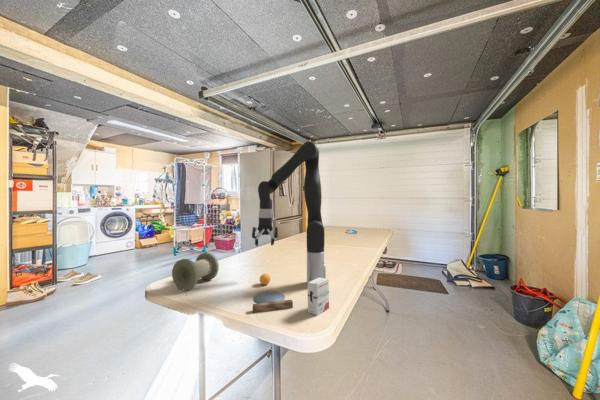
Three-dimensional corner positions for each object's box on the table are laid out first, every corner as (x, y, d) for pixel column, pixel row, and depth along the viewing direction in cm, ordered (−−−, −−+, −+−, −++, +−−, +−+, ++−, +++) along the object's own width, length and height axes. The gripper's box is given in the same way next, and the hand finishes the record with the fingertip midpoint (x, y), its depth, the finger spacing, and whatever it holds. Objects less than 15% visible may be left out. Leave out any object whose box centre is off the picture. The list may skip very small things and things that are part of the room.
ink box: (319, 304, 94) (319, 276, 94) (329, 308, 90) (329, 279, 91) (307, 312, 87) (307, 281, 87) (317, 316, 84) (317, 284, 84)
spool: (195, 292, 106) (195, 261, 107) (171, 288, 111) (172, 258, 112) (218, 280, 122) (218, 253, 122) (196, 277, 127) (197, 251, 127)
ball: (269, 282, 120) (269, 271, 120) (271, 285, 114) (271, 274, 114) (259, 283, 118) (259, 272, 118) (260, 286, 113) (260, 275, 113)
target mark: (281, 290, 109) (281, 289, 109) (287, 302, 95) (287, 302, 95) (252, 293, 105) (252, 292, 105) (254, 306, 91) (254, 306, 91)
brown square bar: (291, 305, 92) (291, 299, 93) (292, 307, 91) (292, 301, 91) (252, 310, 88) (252, 304, 88) (252, 312, 86) (252, 306, 86)
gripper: (254, 217, 119) (253, 247, 119) (279, 217, 124) (278, 246, 124) (251, 216, 126) (250, 244, 126) (275, 216, 131) (274, 243, 131)
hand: (264, 245), depth 125 cm, fingers open, 8 cm apart
